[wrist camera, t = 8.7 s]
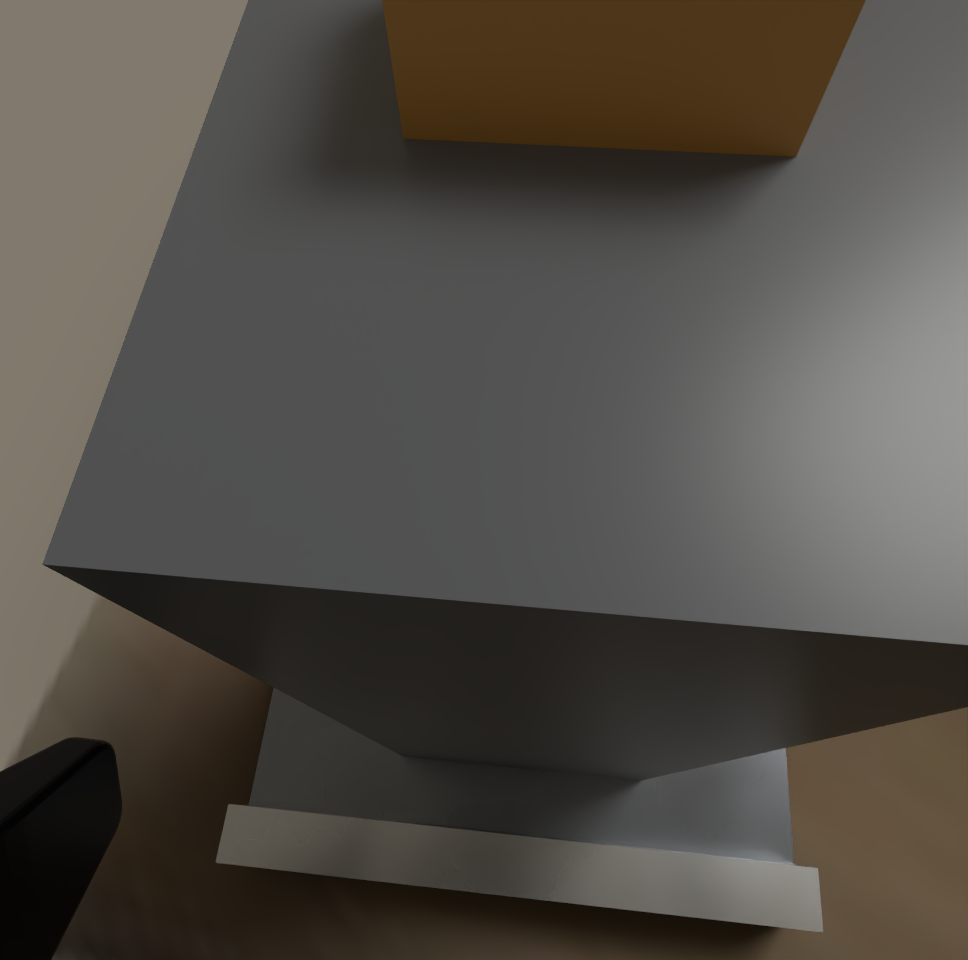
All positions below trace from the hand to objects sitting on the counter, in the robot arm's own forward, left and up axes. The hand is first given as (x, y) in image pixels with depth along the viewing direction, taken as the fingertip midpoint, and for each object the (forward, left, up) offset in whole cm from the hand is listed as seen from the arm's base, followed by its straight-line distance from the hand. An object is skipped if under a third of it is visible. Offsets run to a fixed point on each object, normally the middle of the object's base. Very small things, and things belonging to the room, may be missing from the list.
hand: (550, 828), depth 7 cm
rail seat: (+3, 0, -9) cm, 9 cm away
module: (+3, 0, -8) cm, 9 cm away
